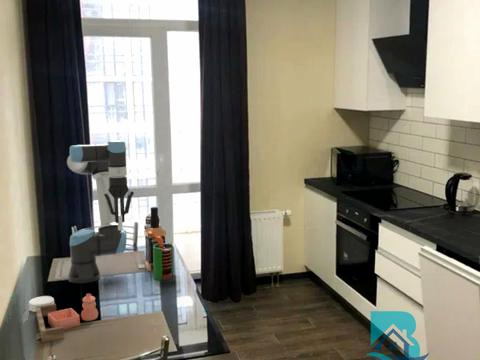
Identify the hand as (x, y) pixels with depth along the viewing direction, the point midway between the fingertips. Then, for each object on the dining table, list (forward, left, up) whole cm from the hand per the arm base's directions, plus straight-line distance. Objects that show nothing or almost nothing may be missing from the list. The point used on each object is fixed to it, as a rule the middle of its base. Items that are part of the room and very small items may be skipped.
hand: (120, 229), depth 227 cm
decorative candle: (-45, +27, -30) cm, 60 cm away
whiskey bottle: (-30, +24, -30) cm, 49 cm away
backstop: (+22, -33, -29) cm, 49 cm away
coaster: (0, -34, -30) cm, 45 cm away
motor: (-15, +23, -30) cm, 40 cm away
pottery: (+21, -23, -30) cm, 43 cm away
